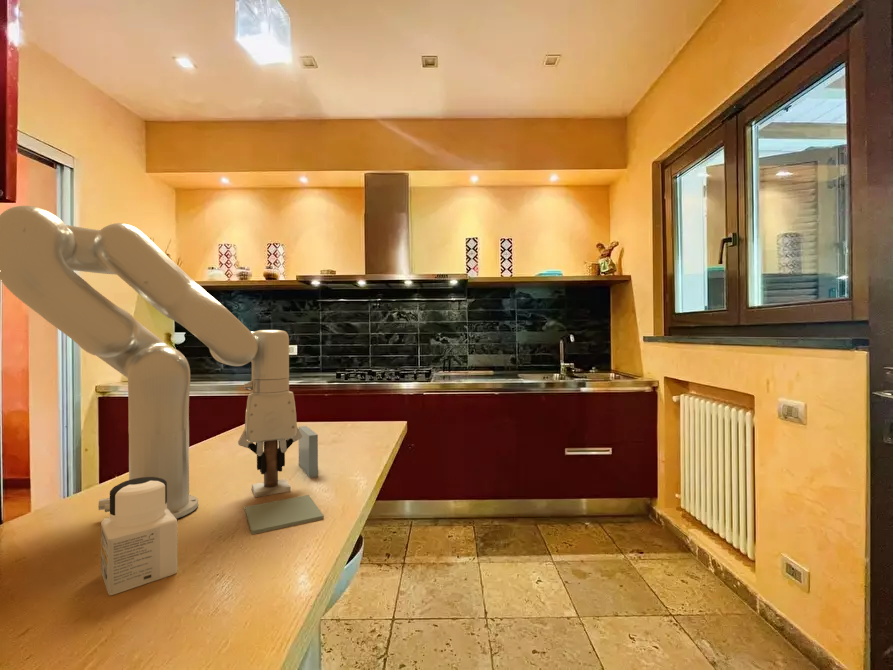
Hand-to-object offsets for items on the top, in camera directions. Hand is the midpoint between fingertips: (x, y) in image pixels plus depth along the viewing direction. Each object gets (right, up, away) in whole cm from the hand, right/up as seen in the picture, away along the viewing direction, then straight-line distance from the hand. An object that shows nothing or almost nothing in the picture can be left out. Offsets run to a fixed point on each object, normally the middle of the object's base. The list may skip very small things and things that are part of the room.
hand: (271, 470), depth 93 cm
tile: (+4, -4, +14) cm, 15 cm away
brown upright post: (0, -4, 0) cm, 4 cm away
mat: (+8, -4, -13) cm, 16 cm away
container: (-5, -4, -33) cm, 34 cm away
